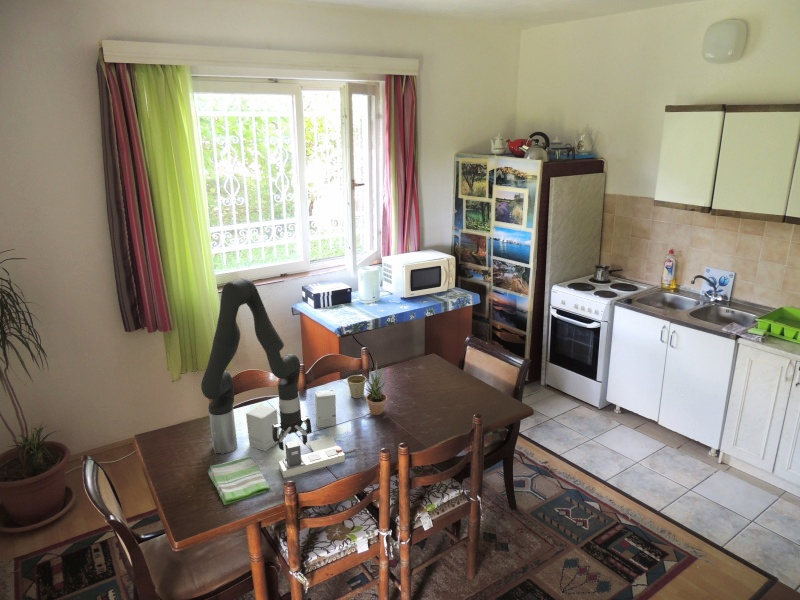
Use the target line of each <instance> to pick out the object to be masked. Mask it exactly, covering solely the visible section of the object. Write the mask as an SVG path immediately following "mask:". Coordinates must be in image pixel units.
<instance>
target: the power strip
mask: <svg viewBox="0 0 800 600" xmlns="http://www.w3.org/2000/svg"><path fill="white" fill-rule="evenodd" d="M355 452H357V449H356V448H355V449H351V450H347V451H344V452H343V449H342V447H340V446H339V445H338V446H336V447H332V448H328V449H324V450H320V451H317V452H313V451H312V452H309V453H307V454H301V463H302V464H299V465H295V466H291V467H289V465H288V463H287V459H286V457H285V458H282V460H278V467H279V470H280V473H281V474H282V477H283V479H286V478H289V477H293V476H296V475H300V474H304V473H307V472H311V471H315V470H318V469H322V468H325V467H329V466H332V465H336V464H339V463H340V464H341V463H343V462H345V461H346V457H345V455H348V454H352V453H355Z"/></svg>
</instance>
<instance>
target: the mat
mask: <svg viewBox="0 0 800 600" xmlns="http://www.w3.org/2000/svg"><path fill="white" fill-rule="evenodd" d="M307 445H308V446H309V448H310V449H311V450H312V453H313V452H317V451H320V450H324V449H328V448H332V447H336V446H339V445H338V444H337V443H336V441H335V439H333V436H326V437H322V438H319V439H315V440H311V441H307Z"/></svg>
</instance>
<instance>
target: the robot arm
mask: <svg viewBox="0 0 800 600" xmlns="http://www.w3.org/2000/svg"><path fill="white" fill-rule="evenodd" d="M243 305H246V306H248V308H249V309H250V310H249V311H250V312H251V314H252V316H253V322H254V323H253V324H254V332H255V336H256V339H257V340H258V342H259V344H260V345H261V347H262V349H263V350H264V351H265V355H266V358H267V362H268V365H269V369H270V370H271V373H272V374H273V375H274V376H275V377H276V378H277V379H281V381H280V382H278V384H277V388H278V389H277V392H278V409H279V410H278V411H279V417H280V423H279V424H278V425H275V424H273V425H272V435H273V440H274V441H275V442H277V441H278V443H277V444H278V448H279V450H281V451H284V450H285V449H284V439H286V437H287V436H288V435H291V434H293V433H294V434H296V433H298V432H299V433H300V434H301V438H302V444H303V445H307V444H308V435H309V434H311V433H312V431H313V430H312V423H311V419H310V417H309V416H305V417H304V418H302V410H301V401H300V396H299V386H298V384H299V379H300V375H301V362H300V359H299V357H298V356H297V355H296V354H294V353H287V354H285V355H283V356H281V355H282V354H281V351H282V350H283V348H284V347H285V344H284V341H283V340H282V339H281V338H282V337H280V335H279V333H278V331H277V330H276V328H275V327H274V325H273V323H272V321H271V319H270V317H269V315H268V313H267V310H266V307H265V305H264V303H263V300H262V298H261V296H260V293H259V291H258V288H257V287H256V285H255V283H254V282H253V281H252V280H251V279H249V278H247V277H241V278H238V279H234V280H231V281H228V282H226V283H225V284H224V286H223V287H222V291H221V296H220V303H219V314H218V319H217V324H216V329H215V332H214V337H213V340H212V346H211V350H210V353H209V359H208V362H207V366H206V367H205V368H206V369H205V372H204V375H203V377H202V380H201V384H200V389H201V392H202V395H203V396H204V397H205V398H206V399H208V400H210V402H209V404H208V414H209V423H210V429H209V430H210V434H211V436H210V437H211V443H212V449H213V451H214V454H215V453H221V454H220V455H224V453H226V454H229V452H230V453H232V452H234V451H235V450H237V448H238V439H237V431H236V430H237V429H236V422H235V411H234V403H235V391H234V388H235V387H234V382H233V381H234V380H233V377H232V375H231V374H230V373H229V372H228V370H227V367H228V366H229V364H230V363H231V362H232V360H233V359H234V357H235V355H236V354H237V351H238V348H239V345H240V340H241V330H240V327H239V326H238V323H237V315H238V312H239V309H240V307H241V306H243ZM303 423H304V424H305V427H306V428H303V427H302V425H303ZM280 429H281V430H280ZM278 430H280V431H279V436H278V437H277V431H278Z"/></svg>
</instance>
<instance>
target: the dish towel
mask: <svg viewBox="0 0 800 600" xmlns="http://www.w3.org/2000/svg"><path fill="white" fill-rule="evenodd" d="M209 467H210V468H208V470H207V474H208V476H209V478H210V480H211V482H212V484H213V485H214V486H215V488H216V490H217V492H218V495H219V497H220V500H221V501H222V504H223V505H224V506H226V505H229V504H233V503H235V502H238V501H241V500H245V499H248V498H250V497H251V498H252V497H253V496H257V495H258V494H263V493H265V492H267V491H270V490H271V488H270V485H269V484H268V482H267V480H266V478H265V477H264V476H263V474H262V472H261V470H260V468H259V466H258V465H257V464H256V462H255V461H254V459H253V457H252V456H243V457H240V458H236V459H234V460H230V461H227V462H223V463H219V464H213V465H210V466H209Z"/></svg>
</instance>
